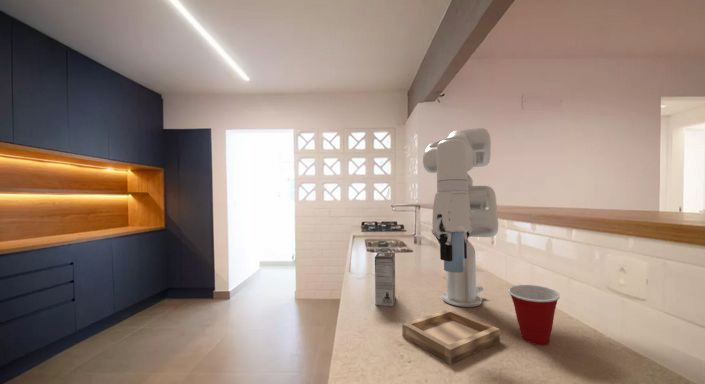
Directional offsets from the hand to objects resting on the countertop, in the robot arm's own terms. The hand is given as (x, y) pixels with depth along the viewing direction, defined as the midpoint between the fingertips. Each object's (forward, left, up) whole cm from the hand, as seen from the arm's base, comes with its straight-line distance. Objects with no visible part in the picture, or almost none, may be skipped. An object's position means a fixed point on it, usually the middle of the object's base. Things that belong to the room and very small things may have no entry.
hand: (453, 258), depth 71 cm
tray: (+2, 0, -20) cm, 20 cm away
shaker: (0, 0, -3) cm, 3 cm away
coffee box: (-1, -30, -20) cm, 36 cm away
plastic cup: (-15, +11, -20) cm, 27 cm away
